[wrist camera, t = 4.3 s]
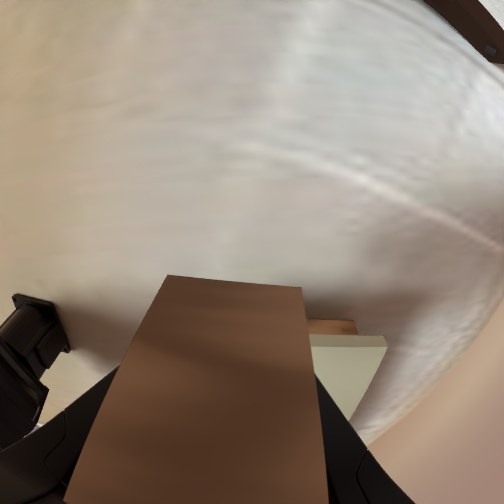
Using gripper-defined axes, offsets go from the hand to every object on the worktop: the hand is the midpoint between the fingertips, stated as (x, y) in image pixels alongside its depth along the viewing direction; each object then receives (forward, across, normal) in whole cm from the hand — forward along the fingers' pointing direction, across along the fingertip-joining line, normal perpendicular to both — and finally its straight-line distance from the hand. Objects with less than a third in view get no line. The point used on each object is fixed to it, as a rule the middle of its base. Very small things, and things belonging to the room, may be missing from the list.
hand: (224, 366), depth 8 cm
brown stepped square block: (+2, 0, 0) cm, 2 cm away
